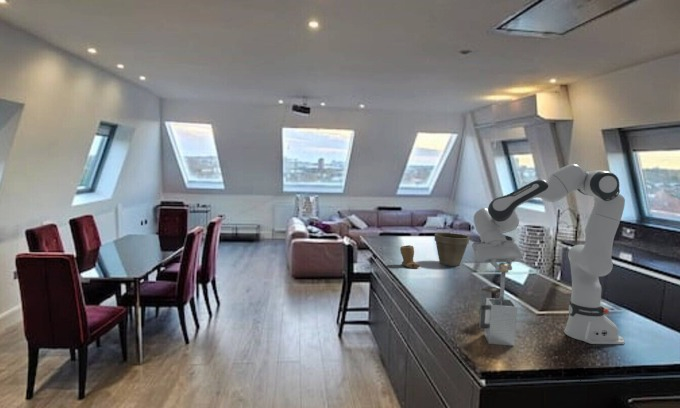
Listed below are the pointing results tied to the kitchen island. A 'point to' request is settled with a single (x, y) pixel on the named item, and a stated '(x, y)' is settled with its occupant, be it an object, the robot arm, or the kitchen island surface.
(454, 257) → the plant pot
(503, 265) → the plunger
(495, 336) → the press
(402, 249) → the brown boot
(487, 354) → the kitchen island surface
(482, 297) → the coffee box
